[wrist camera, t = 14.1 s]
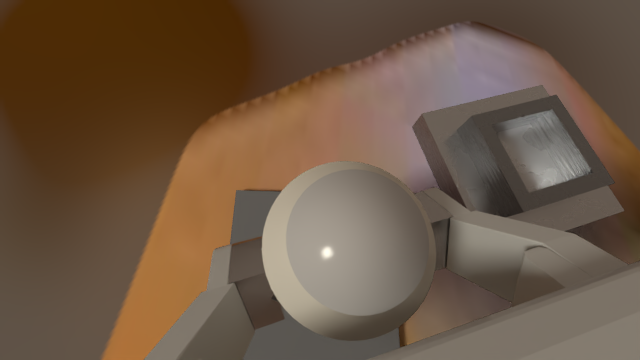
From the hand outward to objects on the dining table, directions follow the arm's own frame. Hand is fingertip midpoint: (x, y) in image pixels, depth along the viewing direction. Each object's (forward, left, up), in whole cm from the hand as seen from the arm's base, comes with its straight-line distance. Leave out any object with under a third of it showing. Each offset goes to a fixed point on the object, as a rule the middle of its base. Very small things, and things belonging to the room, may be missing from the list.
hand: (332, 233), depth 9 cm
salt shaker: (-1, 0, -4) cm, 4 cm away
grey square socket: (+7, -15, -11) cm, 20 cm away
